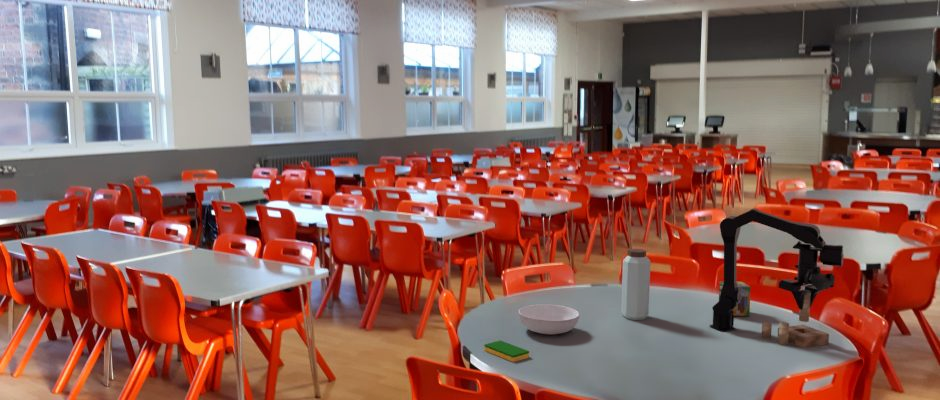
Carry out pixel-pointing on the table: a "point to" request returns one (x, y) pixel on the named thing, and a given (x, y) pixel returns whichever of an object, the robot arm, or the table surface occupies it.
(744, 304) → the chalk box
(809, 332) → the brown slab
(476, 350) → the table surface
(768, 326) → the dowel short
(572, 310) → the serving bowl
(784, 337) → the dowel medium
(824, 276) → the robot arm
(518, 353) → the dish sponge
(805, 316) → the dowel long
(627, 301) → the water bottle
